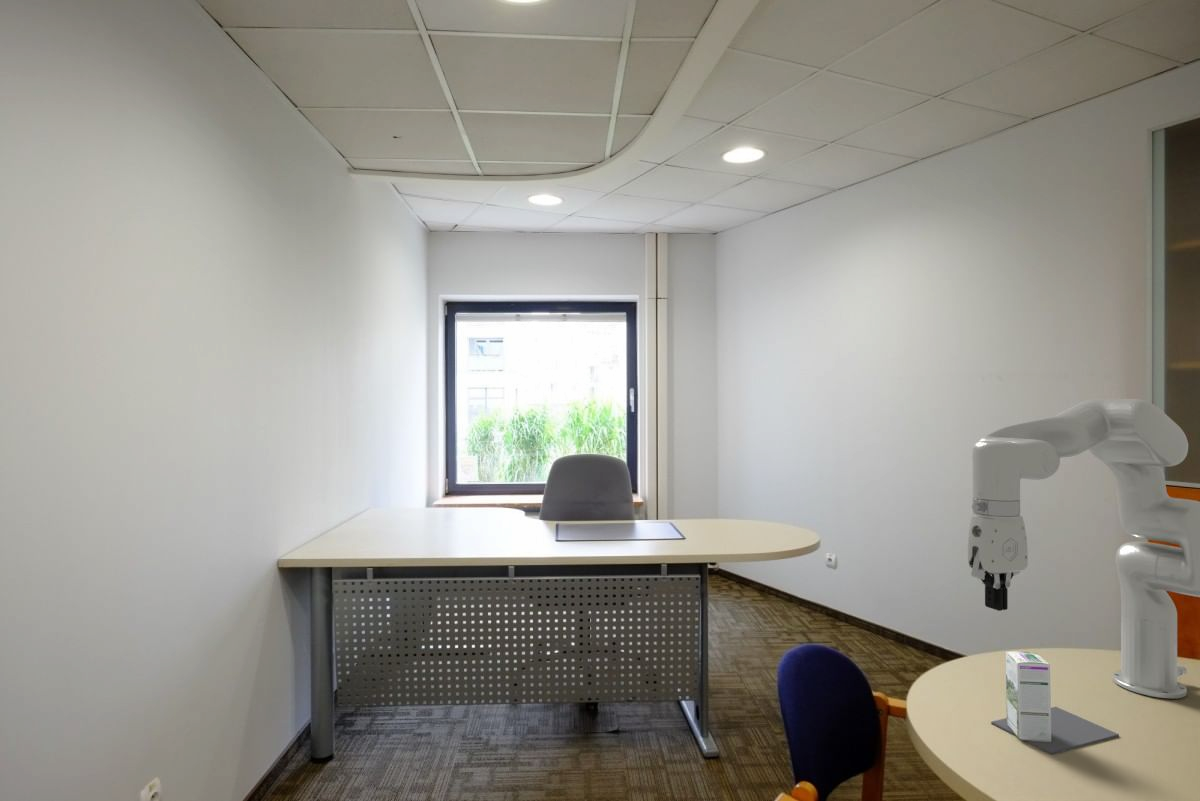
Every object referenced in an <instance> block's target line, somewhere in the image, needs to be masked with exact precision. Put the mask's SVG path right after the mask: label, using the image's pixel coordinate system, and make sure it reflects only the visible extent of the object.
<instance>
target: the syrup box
mask: <svg viewBox="0 0 1200 801" xmlns="http://www.w3.org/2000/svg"><path fill="white" fill-rule="evenodd" d="M1005 681H1006V682H1005V684H1006V686H1005V687H1006V688H1005V689H1006V690H1005V691H1006V692H1005V694H1006V696H1005V698H1006V701H1005V702H1006V718H1007V726H1008V727H1009V728H1010V729H1011V730H1012V731H1013V733H1014V734H1015V735H1016V736H1017V739H1018V740H1022V739H1023V740H1022V741H1024V740H1031V741H1044V742H1051V708H1052V700H1051V698H1052V697H1051V696H1052V695H1051V693H1052V691H1051V664H1050V663H1049V662H1047V661H1046V660H1045V659H1044V658H1043V657H1041V656H1040V655H1039V654H1038V653H1036V652H1030V651H1018V650H1017V651H1005ZM1016 736H1015V737H1016Z"/></svg>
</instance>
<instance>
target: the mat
mask: <svg viewBox="0 0 1200 801" xmlns="http://www.w3.org/2000/svg"><path fill="white" fill-rule="evenodd" d="M990 724H991V725H993V726H994V727H996V728H999V730H1000V729H1001V730H1002V731H1005V732H1007V733H1009V734H1010V735H1012V736H1014V737H1017V736H1016V735H1015V734H1014V733H1013V731H1012V730H1011V729H1010V728H1009V727H1008V726H1007V717H1006V718H1005V717H1004V718H1002V719H997V720H992V721H991V722H990ZM1118 737H1120V734H1119V733H1116V732H1115V731H1112V730H1109V729H1108V728H1105V727H1103V726H1101V725H1099V724H1097V723H1094V722H1092V721H1090V720H1087V719H1085V718H1083V717H1081V716H1079V715H1076V714H1073V713H1071V712H1069V711H1067V710H1065V709H1062V708H1060V707H1058V706H1051V742H1044V741H1031V740H1023V739H1021V740H1022V741H1024V742H1026V743H1028V744H1030V745H1032V746H1035V747H1036V748H1038V749H1039V750H1042V751H1044V752H1046V753H1048V754H1050V755H1055V754H1058V753H1062V752H1067V751H1069V750H1073V749H1077V748H1080V747H1085V746H1088V745H1092V744H1095V743H1099V742H1102V741H1107V740H1110V739H1115V738H1118ZM1017 738H1018V737H1017Z"/></svg>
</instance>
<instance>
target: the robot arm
mask: <svg viewBox="0 0 1200 801" xmlns="http://www.w3.org/2000/svg"><path fill="white" fill-rule="evenodd" d="M1087 450H1088V451H1089V452H1090V454H1092V455H1093V456H1094V457H1096V458H1097V459H1099V460H1100V461H1101V462H1103V463H1104V464H1105V465H1106V466H1107V467H1108V468H1109V470H1110V472H1111V473H1112V475H1113V477H1114V483H1115V489H1116V500H1117V501H1116V502H1117V508H1118V517H1119V522H1120V527H1121V529H1122V530H1123V532H1124V533H1125V534H1127V535H1129V536H1133V537H1135V538H1139V539H1145V540H1152V541H1156V542H1163V543H1170V544H1175V545H1178V546H1179V547H1178V546H1172V545H1168V544H1162V543H1155V542H1149V541H1140V540H1139V541H1138V540H1137V541H1136V540H1135V541H1128V542H1125V543H1122V544H1121V545H1120V546H1119V547H1118V548H1117V551H1116V552H1115V567H1116V571H1117V576H1118V581H1119V585H1120V586H1119V588H1120V603H1121V604H1120V605H1121V606H1120V607H1121V608H1120V609H1121V611H1120V612H1121V613H1120V619H1121V620H1120V639H1121V641H1120V646H1121V649H1120V654H1121V656H1120V657H1121V658H1120V661H1121V663H1120V666H1121V667H1120V670H1116V671H1114V672H1112V681H1113V682H1114V683H1115V684H1117V685H1118V686H1120V687H1122V688H1124V689H1125V690H1128V691H1130V692H1134V693H1137V694H1139V695H1145V696H1148V697H1151V698H1152V697H1153V698H1154V697H1155V698H1159V699H1169V700H1170V699H1171V700H1173V699H1182V698H1184V697H1186V696H1187V693H1188V690H1187V687H1186V686H1185V685H1184V684H1183V683H1180V682H1179V681H1178V678H1179V676H1182V675H1186V674H1187V673H1188V670H1187V668H1186V667H1185V666H1184V665H1182V664H1179V665H1178V611H1177V608H1176V605H1175V603H1174V601H1173V600H1172V598H1171V596H1170V595H1169V594H1168V592H1172V593H1177V594H1180V595H1186V596H1192V597H1196V598H1197V597H1198V598H1200V501H1198V500H1193V499H1186V498H1177V497H1172V496H1169V494H1168V492H1167V486H1166V485H1167V484H1166V476H1165V473H1164V471H1163V469H1162V468H1161V467H1164V468H1165V467H1167V468H1168V467H1174V466H1177V465H1179V464H1180V463H1182V462H1184V460H1185V459H1186V457H1187V455H1188V452H1189V441H1188V439H1187V436H1186V434H1185V432H1184V431H1183V429H1182V428H1181V427H1180V426H1179V425H1178V424H1177V423H1176V422H1175V421H1174V420H1173V419H1172V418H1171V417H1170V416H1168V415H1167V414H1166V413H1165V412H1164V411H1163V410H1162V409H1161V408H1159V407H1158V406H1156V405H1155V404H1153V403H1151V402H1149V401H1147V400H1145V399H1141V398H1140V399H1139V398H1095V399H1094V398H1092V399H1087V400H1084V401H1082V402H1079V403H1078V404H1076V405H1073V406H1071V407H1070V408H1069V407H1068V409H1066V410H1063V411H1061V412H1059V413H1057V414H1055V415H1052V416H1050V417H1045V418H1043V417H1042V418H1039V419H1034V420H1032V421H1031V420H1030V421H1027V422H1026V421H1025V422H1023V423H1017V424H1013V425H1009V426H1005V427H1002V428H1000V429H996V430H994V431H992V432H990V433H988V434H986V435H985V436H983V437H981V438H980V439H979V440H978V441H977V442H975V443H974V444H973V447H972V456H971V457H972V458H971V459H972V505H971V509H972V515H971V518H970V523H969V530H968V539H967V562H968V563H967V564H968V566H969V568H970V569H971V575H970V576H971V577H972V578H975V579H979V580H980V581H981V584H982V585H983V586H984V606H985V607H986V608H990V609H993V610H995V611H999V612H1000V611H1007V610H1008V607H1009V606H1008V604H1009V603H1008V602H1009V601H1008V597H1009V596H1008V592H1009V591H1008V588H1010V586H1011V581H1012V578H1013V577H1014V576H1017V575H1018V574H1020V573H1021V572H1022V571H1024V570H1025V569H1027V567H1028V566H1029V565H1028V564H1029V562H1028V561H1029V560H1028V557H1029V556H1028V540H1027V532H1026V526H1025V521H1024V518H1023V516H1022V515H1021V480H1022V479H1023V480H1031V481H1032V480H1034V481H1040V480H1041V481H1042V480H1045V479H1048V478H1050V477H1052V476H1053V475H1055V473H1056V472H1057V471H1058V469H1059V467H1060V464H1061V459H1063V458H1069V457H1074V456H1075V457H1076V456H1078V455H1081V454H1082V453H1083V452H1085V451H1087Z"/></svg>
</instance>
